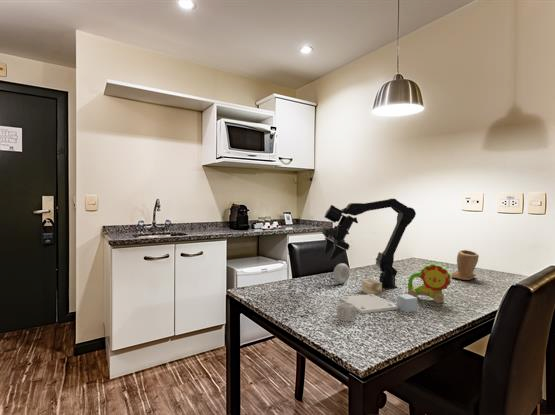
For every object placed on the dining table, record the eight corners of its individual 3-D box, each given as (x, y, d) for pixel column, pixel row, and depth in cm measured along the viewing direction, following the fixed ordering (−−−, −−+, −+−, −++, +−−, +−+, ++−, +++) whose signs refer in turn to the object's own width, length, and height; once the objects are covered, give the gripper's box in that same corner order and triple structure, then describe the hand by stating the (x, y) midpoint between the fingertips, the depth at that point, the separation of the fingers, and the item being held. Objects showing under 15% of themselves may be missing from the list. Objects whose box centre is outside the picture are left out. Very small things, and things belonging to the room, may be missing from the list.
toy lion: (406, 298, 132) (407, 262, 132) (408, 294, 137) (409, 260, 137) (449, 305, 124) (451, 266, 124) (450, 301, 129) (451, 264, 129)
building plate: (372, 296, 134) (372, 292, 134) (398, 309, 119) (398, 305, 119) (339, 299, 129) (339, 295, 129) (361, 313, 114) (361, 309, 114)
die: (356, 319, 108) (356, 304, 108) (349, 323, 105) (349, 308, 105) (343, 315, 112) (344, 301, 112) (336, 319, 108) (336, 304, 108)
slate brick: (407, 306, 122) (407, 294, 122) (416, 311, 117) (417, 297, 117) (396, 308, 120) (397, 295, 120) (405, 312, 116) (406, 299, 115)
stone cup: (473, 283, 158) (474, 253, 157) (448, 278, 167) (449, 250, 166) (482, 278, 168) (483, 250, 168) (458, 274, 177) (459, 247, 176)
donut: (345, 281, 157) (346, 261, 157) (351, 283, 154) (351, 262, 154) (331, 284, 151) (331, 263, 151) (336, 286, 149) (337, 265, 148)
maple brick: (373, 290, 143) (373, 279, 143) (381, 294, 138) (381, 282, 137) (361, 291, 141) (362, 280, 141) (369, 295, 136) (370, 283, 136)
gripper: (323, 216, 156) (308, 244, 157) (336, 223, 138) (319, 254, 139) (341, 226, 159) (327, 253, 159) (356, 234, 141) (340, 265, 141)
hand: (327, 256), depth 150 cm, fingers open, 9 cm apart
